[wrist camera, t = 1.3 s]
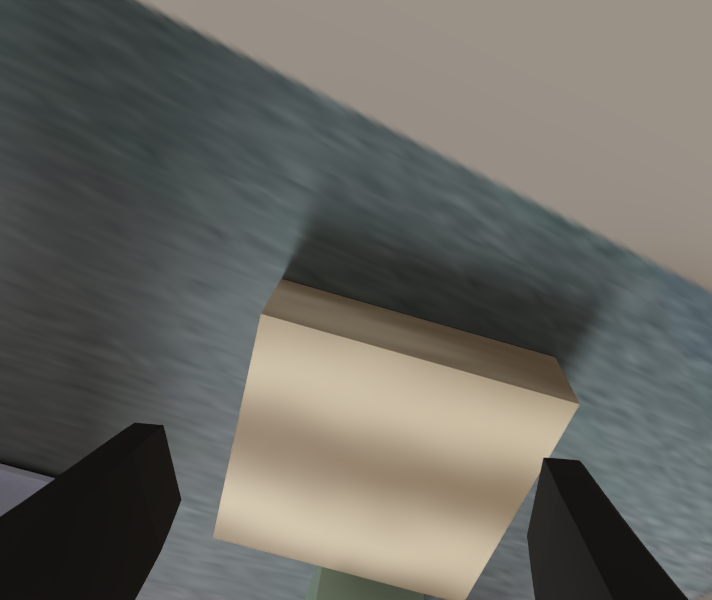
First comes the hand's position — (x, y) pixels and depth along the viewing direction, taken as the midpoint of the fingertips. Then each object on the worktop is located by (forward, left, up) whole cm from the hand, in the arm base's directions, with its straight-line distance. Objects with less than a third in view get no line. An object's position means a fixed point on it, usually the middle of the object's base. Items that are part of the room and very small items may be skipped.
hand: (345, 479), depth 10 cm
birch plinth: (-7, -2, -10) cm, 12 cm away
